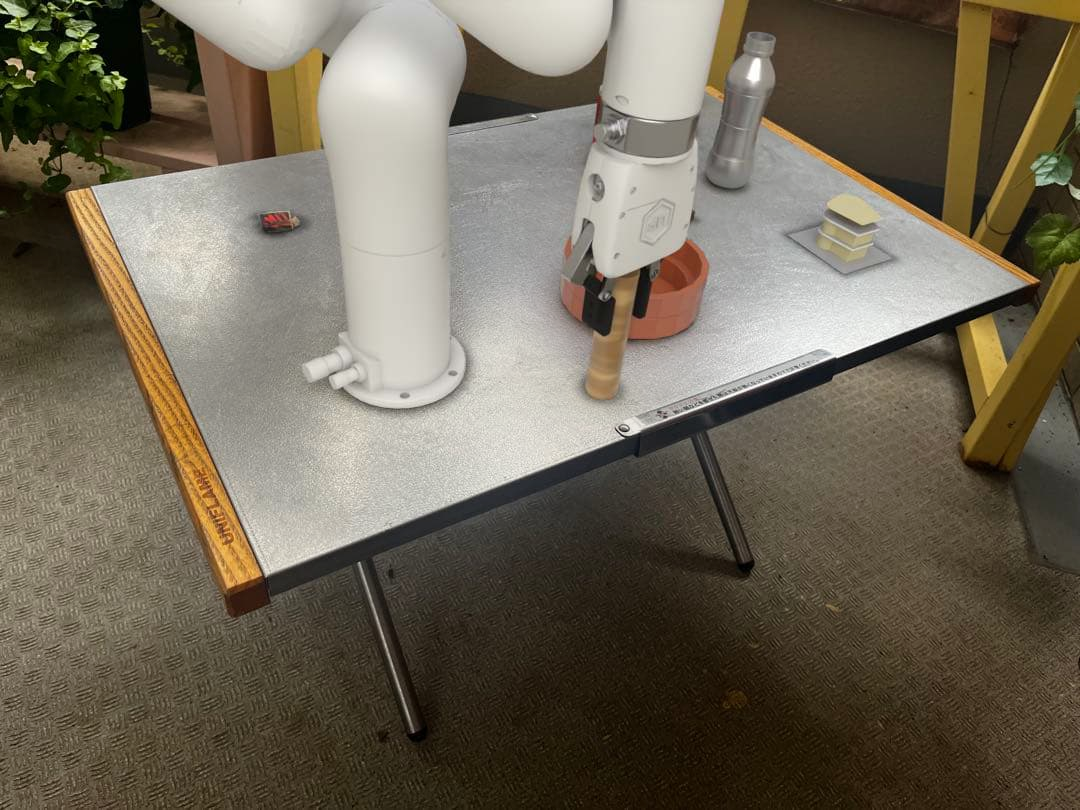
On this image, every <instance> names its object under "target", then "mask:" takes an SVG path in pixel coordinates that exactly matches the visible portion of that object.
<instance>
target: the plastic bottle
mask: <svg viewBox="0 0 1080 810" xmlns="http://www.w3.org/2000/svg"><path fill="white" fill-rule="evenodd" d="M776 39H777V38H776V36H774V35H772V34H770V33H766V32H761V31H749V32H748V33H747V34H746V37H745V42H744V44H743V47H742V50H743V54H741V55H740V56H739V57H738V58H737V59H736V60H735V61H734V62H733V63H732V64H731V65H730V66H729V68H728V70H727V72H726V74H725V80H724V88H723V101H722V108H721V116H720V119H719V125H718V127H717V131H716V134H715V137H714V140H713V144H712V146H711V148H710V150H709V152H708V155H707V158H706V160H705V174H706V177H707V179H708V180H709V182H711V183H712V184H714V185H716V186H719V187H721V188H725V189H739V188H742V187H743V186H745V185H746V184H747V183H748V182H749V180H750V177H751V176H752V173H753V170H754V163H755V151H756V144H757V139H758V133H759V130H760V126H761V123H762V120H763V116H764V113H765V110H766V109H767V106H768V103H769V101H770V100H771V99H770V98H771V96H772V93H773V91H774V89H775V86H776V73H775V69H774V66H773V63H772V61H771V58H770V57H772V56H773V55H774V51H775V50H774V49H775V44H776V41H777V40H776Z"/></svg>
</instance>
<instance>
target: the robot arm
mask: <svg viewBox="0 0 1080 810" xmlns="http://www.w3.org/2000/svg"><path fill="white" fill-rule="evenodd" d="M151 1H152V2H153V3H154V4H156V5H157V6H158V7H160V8H162V9H163V10H164V11H166V12H167V13H169V14H170V15H171V16H173V17H174V18H176V19H177V20H178V21H180V22H182V23H183V24H185V25H186V26H187V27H189V28H190V29H191V30H193V31H194V32H196V33H197V34H199V35H200V36H202V37H203V38H205V39H206V40H207V41H209V42H210V43H212V44H213V45H214V46H216V47H217V48H219V49H220V50H222V51H223V52H225V53H226V54H227V55H229V56H230V57H232V58H234V59H235V60H237V61H239V62H240V63H242V64H244V65H245V66H248V67H250V68H254V69H257V70H259V71H263V72H276V71H281V70H285V69H289V68H290V67H292V66H294V65H296V64H297V63H299V62H300V61H301V60H302V59H304V58H305V57H306V56H307V55H309V53H310V52H311V51H312V50H313V49H314V48H315V49H317V50H318V51H320V52H321V53H322V54H324V55H326V56H327V58H329V60H328V63H327V64H326V66H325V69H324V71H323V74H322V77H321V79H320V83H319V87H318V92H317V93H318V94H317V100H316V101H317V103H316V113H317V122H318V130H319V135H320V138H321V142H322V145H323V149H324V153H325V156H326V160H327V165H328V170H329V174H330V180H331V186H332V194H333V199H334V210H335V218H336V227H337V228H336V229H337V233H338V244H339V253H340V254H339V255H340V262H341V274H342V284H343V292H344V304H345V313H346V314H345V315H346V323H347V330H344V331H341V332H339V333H338V334H337V338H338V345H337V346H334V347H332V348H331V350H330V353H328V354H326V355H324V356H318V357H315V358H313V359H310V360H308V361H305V362H303V363H301V371H302V373H303V375H304V378H305V379H306V381H307V382H308V383H310V384H312V383H314V382H317V381H320V380H322V379H325V378H326V377H328V381H329V384H330V386H331V388H332V389H333V390H334V391H337V390H339V389H342V388H343V389H344V390H345V391H346V392H347V393H348V394H349V395H350V396H352V397H354V398H355V399H357V400H359V401H360V402H363V403H366V404H368V405H371V406H375V407H380V408H386V409H395V410H396V409H413V408H418V407H419V408H420V407H423V406H426V405H429V404H433V403H435V402H437V401H439V400H442V399H444V398H445V397H447V396H448V395H449V394H451V393H452V392H454V390H455V389H456V388H458V387H459V385H460V384H461V382H462V380H463V379H464V376H465V374H466V367H467V366H466V364H467V358H466V353H465V350H464V348H463V345H462V344H461V342H459V340H458V339H457V338H456V337H455V336H454V335H452V334H451V273H452V271H451V268H452V267H451V265H452V264H451V263H452V262H451V260H452V259H451V252H452V251H451V249H452V248H451V247H452V245H451V244H452V243H451V242H452V239H451V238H452V231H451V230H452V229H451V228H452V227H451V182H450V181H451V180H450V169H449V156H448V155H449V153H448V151H449V149H448V147H449V145H448V144H449V143H448V142H449V128H450V122H451V116H452V113H453V111H454V108H455V106H456V103H457V99H458V96H459V93H460V91H461V88H462V85H463V83H464V79H465V76H466V72H467V71H466V70H467V61H468V59H467V49H466V44H465V41H464V37H463V34H462V33H461V30H460V28H462V29H463V30H464V31H466V32H467V33H468V34H470V35H471V36H472V37H473V38H475V39H476V40H477V41H479V42H480V43H481V44H483V45H484V46H485V47H487V48H488V49H489V50H491V51H492V52H494V53H495V54H497V55H498V56H500V58H502V59H504V60H505V61H506V62H508V63H510V64H511V65H513V66H515V67H518V68H519V69H522V70H523V71H527V72H528V73H531V74H534V75H538V76H543V77H562V76H568V75H571V74H574V73H575V72H577V71H580V70H582V69H583V68H585V67H586V66H587V65H589V64H590V63H591V62H592V61H593V60H594V59H595V57H596V56H597V55H598V54H599V53H600V51H601V50H602V48H603V47H604V44H605V43H607V49H606V56H605V64H604V73H603V80H602V84H603V87H602V94H601V101H600V109H599V116H598V124H597V125H595V124H594V125H595V126H594V125H593V129H592V136H593V135H594V138H595V140H596V142H594V143H593V144H592V143H591V147H590V149H589V153H588V156H587V160H586V162H585V166H584V170H583V174H582V177H581V180H580V185H579V190H578V194H577V198H576V204H575V210H574V216H573V221H572V222H573V224H572V229H571V230H572V231H571V236H572V252H571V254H570V256H569V258H568V260H567V262H566V263H565V265H564V267H563V269H562V268H561V271H560V277H561V276H562V277H564V278H565V279H567V280H568V281H569V282H571V283H572V284H575V285H578V286H581V287H583V288H585V296H584V303H583V310H582V321H583V322H584V323H585V325H586V326H587V325H588V326H587V327H589V328H590V329H592V330H593V331H594V330H595V331H596V332H597V333H599V334H600V335H602V336H603V337H605V336H607V335H609V334H610V332H611V326H612V321H613V315H614V309H615V303H616V299H615V298H614V297H613V296H612V293H613V289H614V286H615V283H616V279H617V277H620V276H622V275H625V274H627V273H630V272H632V271H634V270H637V269H639V268H640V276H639V281H638V286H637V291H636V297H635V302H634V307H633V312H632V315H633V316H634V317H636V318H638V319H642V318H644V317H645V316H646V311H647V306H648V302H649V297H650V292H651V287H652V282H651V281H650V280H654V279H655V278H656V277H657V276H658V274H659V269H660V263H661V262H662V260H663V259H664V258H665V257H666V256H668V255H670V254H672V253H674V252H676V251H677V250H679V249H680V248H681V247H682V246H683V244H684V243H685V240H686V237H687V236H688V232H689V227H690V222H691V220H690V218H691V213H692V210H693V207H694V200H695V195H696V194H695V193H696V186H697V177H698V167H699V165H698V164H699V163H698V162H699V144H698V140H697V138H696V135H697V130H698V127H699V126H698V125H699V120H700V116H701V112H702V106H703V101H704V96H705V93H706V88H707V83H708V79H709V76H710V75H709V74H710V71H711V70H710V69H711V65H712V61H713V57H714V51H715V48H716V43H717V37H718V33H719V28H720V24H721V21H722V15H723V10H724V5H725V1H726V0H151ZM459 27H460V28H459ZM597 271H598V272H600V273H601V274H603V280H602V282H601V281H600V280H599V279H598V278H597V277H596V275H597ZM582 321H581V322H582ZM583 322H582V323H583ZM584 323H583V324H584Z"/></svg>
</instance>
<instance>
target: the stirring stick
mask: <svg viewBox="0 0 1080 810" xmlns="http://www.w3.org/2000/svg"><path fill="white" fill-rule="evenodd" d="M639 276H640V268H639V269H637V270H634V271H632V272H630V273H627V274H625V275H622V276H620V277H617V279H616V283H615V286H614V289H613V293H612V296H613V297H614V298H615V299H616V303H615V309H614V315H613V321H612V326H611V332H610V334H609V335H607V336H605V337H603V336H602V335H600V334H599V333H597V332H596V331H595V330H593V332H592V340H591V346H590V353H589V360H588V366H587V371H586V372H587V373H586V379H585V383H584V390H585V392H586V394H588V395H589V396H590V397H592V398H593V399H596V400H601V401H603V400H604V401H606V400H610V399H613V398H614V397H615V396H616V395H617V394H618V390H619V384H620V380H621V379H620V378H621V374H622V369H623V364H624V359H625V354H626V349H627V343H628V339H629V338H628V333H629V328H630V323H631V317H632V312H633V307H634V302H635V297H636V291H637V286H638V281H639ZM602 280H603V275H602ZM601 282H602V281H601Z"/></svg>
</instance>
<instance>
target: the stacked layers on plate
mask: <svg viewBox="0 0 1080 810" xmlns="http://www.w3.org/2000/svg"><path fill="white" fill-rule="evenodd" d="M826 206H827V208H828V209H825V210H824V212H823V214H822V217H823V218H824V220H823V223H821V224H820V225H819V226H815V227H812V228H808V229H805V230H802V231H797V232H795V233H790V234H788V235H787V236H788V237H789V238H790V239H792V240H793V241H795V242H796V243H798V244H799V245H800V246H802V247H804V248H805V249H806V250H808V251H810V252H811V253H812V254H813V255H815V256H816V257H818V258H820V259H821V260H822V261H824V262H825V263H827V264H828V265H830V266H831V267H832V268H834V269H835V270H836V271H838V272H840V273H841V274H843V275H846V274H849V273H853V272H856V271H859V270H863V269H866V268H868V267H871V266H875V265H877V264H881V263H884V262H887V261H890V260H893V257H891V256H889V255H888V254H886V253H885V252H883V251H882V250H880V249H878V248H877V247H876V246H874V243H875V241H873V240H872V239H873V236H874V234H875V232H878V231H880V229H881V228H880V227H879V226H878V225H877V224H876V223H875V222H880V221H883V220H884V218H883V217H882V216H881V214H879V213H878V212H877V211H876V210H875V208H873V207H871V205H869V204H868V203H867V202H866V201H865V200H864V199H862V198H861V197H859V196H857V195H852V194H845V193H840V194H838V195H837V196H835V197H834V198H832V199H831V200H829V201H828V202H826Z"/></svg>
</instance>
